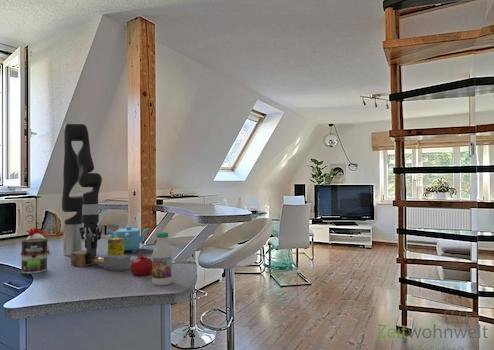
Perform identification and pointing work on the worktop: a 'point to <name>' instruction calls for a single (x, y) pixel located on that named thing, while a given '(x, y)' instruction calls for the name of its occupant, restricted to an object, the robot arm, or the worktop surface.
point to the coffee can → (34, 256)
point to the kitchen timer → (36, 236)
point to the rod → (92, 253)
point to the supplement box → (116, 246)
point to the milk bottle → (162, 261)
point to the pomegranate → (141, 265)
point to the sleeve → (117, 262)
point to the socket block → (79, 259)
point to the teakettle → (130, 237)
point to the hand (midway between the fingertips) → (90, 248)
